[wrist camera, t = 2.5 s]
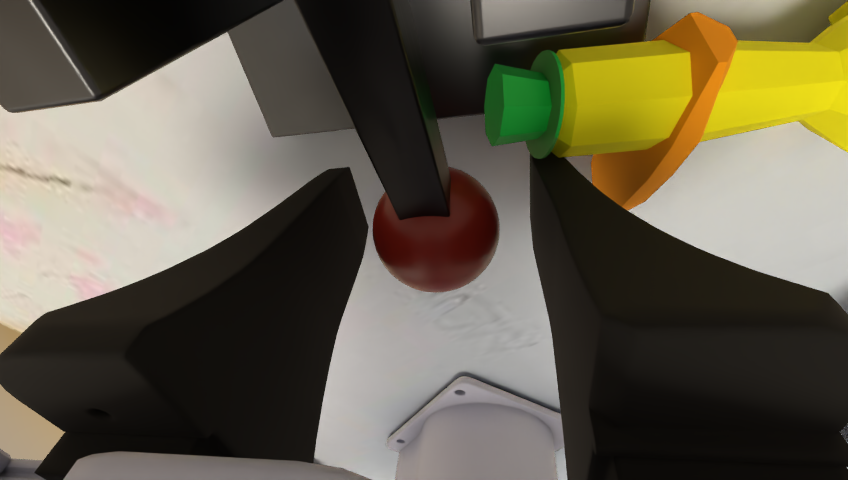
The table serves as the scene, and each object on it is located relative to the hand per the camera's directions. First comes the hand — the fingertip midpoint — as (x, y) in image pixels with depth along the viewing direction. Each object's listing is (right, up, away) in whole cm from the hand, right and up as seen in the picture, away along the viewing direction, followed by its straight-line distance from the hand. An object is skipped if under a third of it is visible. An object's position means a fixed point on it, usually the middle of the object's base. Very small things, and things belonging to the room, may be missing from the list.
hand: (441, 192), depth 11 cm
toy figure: (+13, +2, -2) cm, 13 cm away
